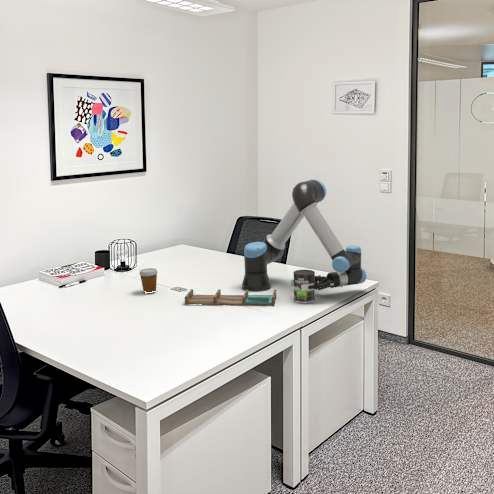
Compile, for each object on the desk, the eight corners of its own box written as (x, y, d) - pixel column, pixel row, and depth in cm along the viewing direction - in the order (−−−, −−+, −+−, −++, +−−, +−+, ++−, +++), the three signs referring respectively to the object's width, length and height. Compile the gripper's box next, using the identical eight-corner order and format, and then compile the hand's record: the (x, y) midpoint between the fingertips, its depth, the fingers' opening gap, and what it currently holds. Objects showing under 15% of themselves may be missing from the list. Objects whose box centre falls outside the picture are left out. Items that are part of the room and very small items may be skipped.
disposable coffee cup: (155, 295, 306) (153, 272, 303) (137, 294, 308) (136, 272, 305) (161, 290, 315) (160, 268, 312) (144, 289, 317) (143, 267, 314)
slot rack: (191, 296, 301) (191, 289, 300) (276, 297, 295) (276, 289, 294) (185, 305, 287) (184, 297, 286) (274, 305, 281) (273, 297, 281)
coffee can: (311, 304, 282) (311, 275, 279) (291, 302, 286) (290, 273, 283) (317, 298, 292) (317, 270, 289) (297, 296, 295) (297, 268, 293)
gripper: (348, 292, 284) (307, 298, 276) (325, 281, 305) (286, 287, 297) (348, 277, 283) (307, 283, 275) (325, 267, 303) (285, 272, 295)
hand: (296, 285), depth 286 cm, fingers closed on coffee can, 10 cm apart
